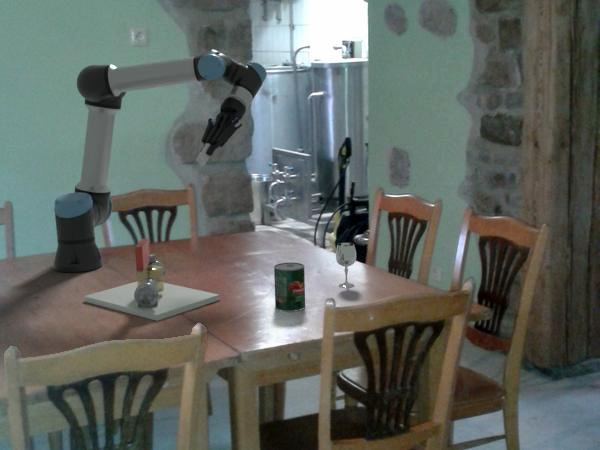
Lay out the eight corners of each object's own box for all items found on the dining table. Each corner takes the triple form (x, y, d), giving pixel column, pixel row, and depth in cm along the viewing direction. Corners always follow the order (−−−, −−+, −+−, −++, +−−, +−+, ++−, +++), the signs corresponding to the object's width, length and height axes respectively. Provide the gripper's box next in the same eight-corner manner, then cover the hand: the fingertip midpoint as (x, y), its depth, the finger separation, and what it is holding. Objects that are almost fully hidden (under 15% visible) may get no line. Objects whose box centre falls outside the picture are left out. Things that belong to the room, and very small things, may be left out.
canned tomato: (302, 312, 200) (301, 270, 198) (272, 311, 202) (271, 269, 199) (307, 303, 208) (306, 262, 206) (278, 302, 209) (277, 262, 207)
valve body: (142, 283, 226) (140, 253, 224) (167, 282, 226) (165, 252, 225) (133, 310, 200) (130, 275, 198) (160, 308, 201) (158, 274, 199)
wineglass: (355, 288, 220) (354, 246, 218) (334, 288, 221) (334, 246, 219) (357, 283, 226) (357, 242, 224) (338, 282, 227) (337, 242, 225)
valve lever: (143, 260, 213) (141, 234, 212) (156, 260, 213) (155, 234, 212) (133, 275, 198) (131, 247, 196) (147, 274, 198) (145, 246, 196)
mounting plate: (84, 301, 215) (83, 296, 214) (146, 283, 231) (146, 278, 231) (157, 320, 196) (156, 315, 196) (219, 300, 213) (219, 294, 212)
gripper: (257, 112, 244) (222, 171, 235) (227, 112, 252) (192, 169, 243) (245, 95, 239) (208, 155, 230) (214, 96, 247) (178, 153, 238)
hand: (200, 162), depth 236 cm, fingers closed
